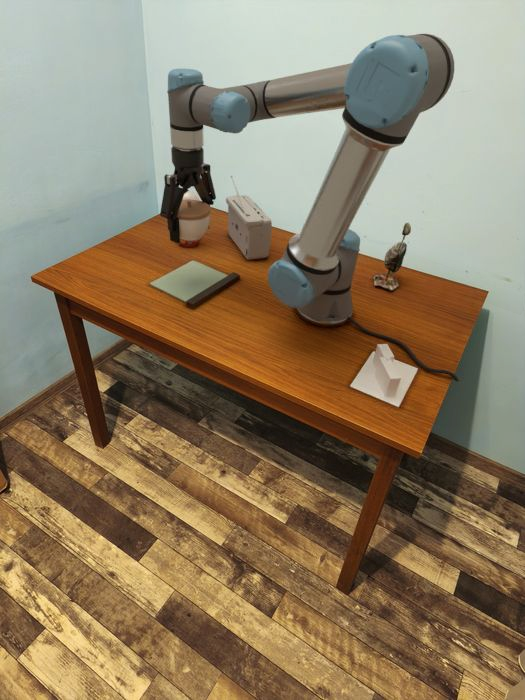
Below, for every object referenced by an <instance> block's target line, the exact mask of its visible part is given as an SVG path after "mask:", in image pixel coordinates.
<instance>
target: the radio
mask: <svg viewBox="0 0 525 700" xmlns="http://www.w3.org/2000/svg"><path fill="white" fill-rule="evenodd" d="M230 178H231V179H232V183H233V186H234V189H235V191H236V195H230V196H226V198H225V202H226V204H227V233H228V236H229V237H230V238H231V240H232V241H233V242H234V244H235V245H236V246H237V248H238V249H239V251H240V252H241V253H242V255H243V257H245V259H246V260H248V261H250V260H258V259H259V260H260V259H265V258H268V257H269V255H270V250H271V241H272V229H273V223H272V222H273V221H272V220H271V218H270V217H269V216H268V215H267V214H266V213H265V212H264V211H263V210H262V209H261V208H260V207H259V205H258V204H257V203H256V202H255V201H254V200H253V199H252V198H251V197H250V196H249V195H248V194H243V195H241V194H239V191H238V188H237V186H236V183H235V181H234V179H233V175H230Z"/></svg>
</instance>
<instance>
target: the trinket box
mask: <svg viewBox="0 0 525 700" xmlns="http://www.w3.org/2000/svg"><path fill="white" fill-rule="evenodd" d="M199 200H200V199H199ZM199 200H191V199H186V200H182V202H181V205H180V208H179V211H178V214H177V216H176V217H177V218H179V233H180V238H181V239H183V240H187V241H195V240H198V239H202V238H203V236H204V235H205V234H206V233H207V231H208V230H209V229H208V227H209V228H210V223H211V210H212V208H211V205H210V206H209V205H208V204H207V203H205V202H202V200H200V201H199Z"/></svg>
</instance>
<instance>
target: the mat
mask: <svg viewBox="0 0 525 700" xmlns="http://www.w3.org/2000/svg"><path fill="white" fill-rule="evenodd" d="M228 275H229V274H226V273H225V272H221V271H219V270H217V269H215V268H212V267H210V266H208V265H206V264H203V263H201V262H198V261H196V260H194V259H192V260H191V261H189V262H187V263H185V264H183V265H181V266H179V267H177V268H176V269H173V270H172V271H170V272H168V273H166V274H165V275H162V276H161V277H159V278H157V279H155V280H153V281H151V282H149V286H150V287H153V288H155V289H157V290H159V291H161V292H162V293H163V292H164V293H165V294H167V295H169V296H171V297H174V298H175V299H177V300H179V301H181V302H183V303H185V304H186V301H187V300H189V299H190V298H192V297H194V296H195V295H197V294H198V293H200V292H202V291H203V290H205V289H207V288H208V287H210V286H212V285H213V284H215V283H216V282H218V281H220V280H221V279H223V278H225V277H226V276H228Z"/></svg>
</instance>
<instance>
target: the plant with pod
mask: <svg viewBox="0 0 525 700" xmlns="http://www.w3.org/2000/svg"><path fill="white" fill-rule="evenodd" d="M411 226H412V225H411V224H410V223H409V222H405V223H404V225H403V229H402V232H401V234H402V236H403V238H402V240H401V241H399V242H396V243H395V244H394V245H393V246H392V247H390V248H389V249H388V250H387V251H386V253H385V255H384V261H383V262H384V263H383V265H384V267H385V269H387V270H388V271H387V274H386V273H380V274H379V273H377V274H375V275H374V276H373V282H374V283H373V286H375V287H376V286H377V287H382V288H384V289H386V290H388V291H395V290H396V289H397V287H399V286H400V282H399V281H398V279H397V277H393V276H394V275H395V274H396V273H398V271H399V270H400V269H401V267H402V265H403V261H404V258H405V256H406V253H407V248H408V244H409V243H410V242H409V241H407V243H408V244H407V243H406V242H404V240H405V238H406V236H409V235H410V234H411V231H412V227H411Z"/></svg>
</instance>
